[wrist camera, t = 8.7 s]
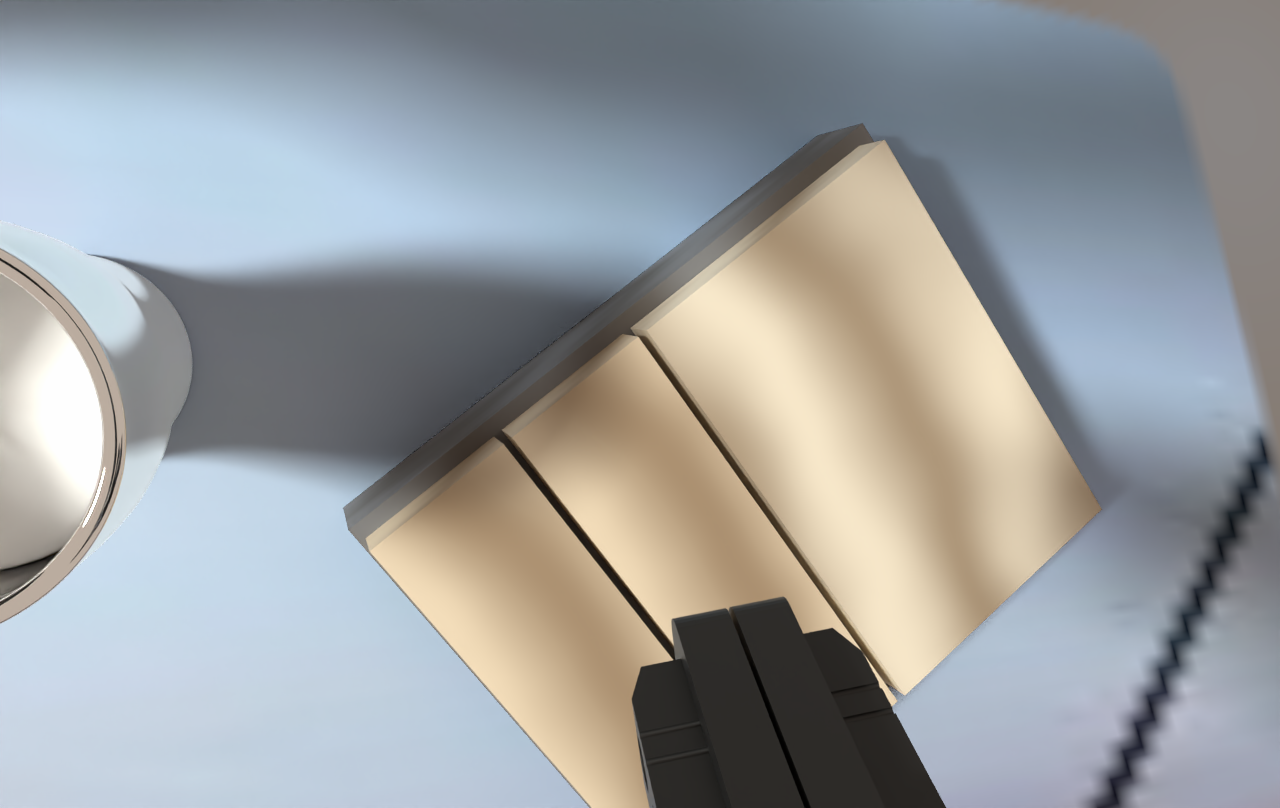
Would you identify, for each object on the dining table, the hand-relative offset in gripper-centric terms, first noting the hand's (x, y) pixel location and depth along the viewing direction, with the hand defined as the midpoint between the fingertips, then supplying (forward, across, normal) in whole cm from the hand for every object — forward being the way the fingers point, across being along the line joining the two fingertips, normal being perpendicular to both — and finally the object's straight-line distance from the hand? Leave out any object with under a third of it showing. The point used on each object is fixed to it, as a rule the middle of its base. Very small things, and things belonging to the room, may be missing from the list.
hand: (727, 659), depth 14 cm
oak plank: (+18, -9, +8) cm, 22 cm away
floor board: (+20, -4, +11) cm, 23 cm away
